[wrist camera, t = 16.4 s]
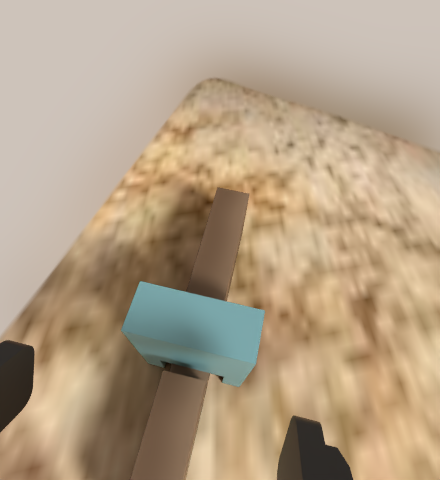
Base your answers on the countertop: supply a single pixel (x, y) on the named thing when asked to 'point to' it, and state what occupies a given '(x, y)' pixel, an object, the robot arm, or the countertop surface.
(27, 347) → the robot arm
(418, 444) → the countertop surface
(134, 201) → the countertop surface
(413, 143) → the countertop surface
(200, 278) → the walnut slotted plate
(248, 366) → the teal notched bridge block
